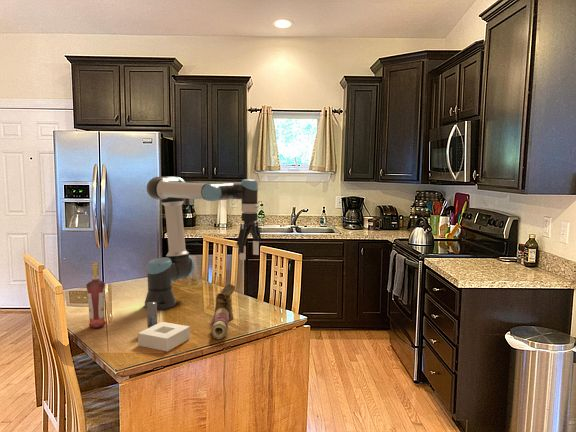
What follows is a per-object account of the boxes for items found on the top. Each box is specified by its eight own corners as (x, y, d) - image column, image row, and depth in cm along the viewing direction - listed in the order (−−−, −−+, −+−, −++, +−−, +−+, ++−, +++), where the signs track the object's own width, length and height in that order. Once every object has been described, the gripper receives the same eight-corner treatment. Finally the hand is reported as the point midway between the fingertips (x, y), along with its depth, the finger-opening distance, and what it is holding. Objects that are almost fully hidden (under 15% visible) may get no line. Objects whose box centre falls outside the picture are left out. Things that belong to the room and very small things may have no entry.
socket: (138, 345, 168) (137, 333, 167) (162, 333, 181) (162, 321, 180) (167, 351, 162) (167, 338, 162) (190, 338, 175) (189, 326, 175)
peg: (145, 331, 183) (144, 303, 182) (152, 328, 187) (151, 301, 185) (153, 332, 181) (152, 304, 180) (159, 329, 185) (158, 302, 184)
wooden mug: (221, 326, 189) (220, 285, 188) (210, 317, 201) (210, 279, 199) (240, 322, 194) (239, 283, 192) (228, 314, 206) (228, 276, 204)
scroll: (210, 319, 193) (204, 336, 173) (217, 304, 193) (212, 320, 173) (225, 326, 194) (221, 344, 174) (232, 311, 193) (229, 327, 174)
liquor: (105, 328, 186) (103, 264, 183) (87, 330, 184) (84, 265, 181) (107, 322, 193) (105, 260, 190) (89, 324, 191) (86, 261, 188)
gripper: (244, 215, 191) (244, 262, 193) (268, 210, 214) (267, 253, 216) (229, 214, 193) (229, 261, 196) (254, 210, 216) (254, 251, 219)
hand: (249, 257), depth 206 cm, fingers open, 13 cm apart
